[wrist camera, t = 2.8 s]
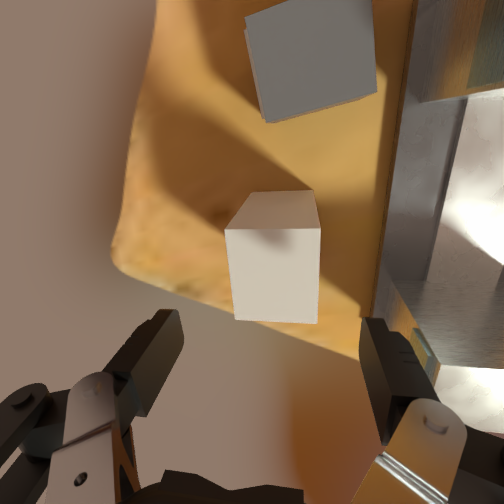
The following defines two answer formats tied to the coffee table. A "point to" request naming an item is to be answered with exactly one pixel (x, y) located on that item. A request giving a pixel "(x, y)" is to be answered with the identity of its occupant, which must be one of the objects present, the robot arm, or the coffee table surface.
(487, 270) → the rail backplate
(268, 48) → the block
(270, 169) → the coffee table surface
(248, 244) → the block
